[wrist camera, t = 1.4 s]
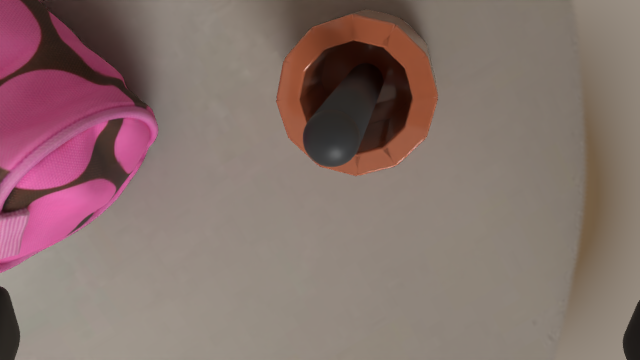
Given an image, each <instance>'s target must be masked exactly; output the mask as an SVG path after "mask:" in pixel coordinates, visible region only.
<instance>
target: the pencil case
mask: <svg viewBox="0 0 640 360" xmlns="http://www.w3.org/2000/svg"><path fill="white" fill-rule="evenodd" d="M157 135H158V124H157V122H156V119H155V116H154V113H153V111H152V109H151V108H150V107H149V106H148V105H146V104H145V103H144V102H142V101H141V100H140V99H139V98H138V97H137V96H135V95H134V94H133V93H132V92H131V91H130V90H128V89H127V87H126V86H125V82H124V79H123V77H122V75H121V74H120V73H119V72H118V71H117V70H116V69H115V68H114V67H112V66H111V65H110V64H109V63H107V62H106V61H105V60H104V59H102V58H101V57H100V56H98V55H97V54H96V53H94V52H93V51H91V50H90V49H88V48H87V47H86V46H85V45H84V44H83V43H82V42H81V41H80V40H79V39H78V38H77V37H76V35H75V34H74V33H73V32H72V31H71V30H70V29H69V28H68V27H67V26H66V25H65V24H64V23H62V22H61V21H60V20H59V19H58V18H57V17H55V16H54V15H53V14H52V13H50V12H49V11H48V10H47V9H46V8H45V7H44V6H43V4H42V3H41V2H40V1H39V0H0V273H2V272H4V271H6V270H8V269H11V268H12V267H14V266H16V265H18V264H20V263H21V262H23V261H25V260H26V259H28V258H29V257H31V256H33V255H35V254H36V253H38V252H40V251H42V250H43V249H45V248H47V247H49V246H52V245H53V244H55V243H57V242H59V241H62V240H63V239H65V238H67V237H68V236H70V235H72V234H73V233H75V232H77V231H78V230H80V229H82V228H83V227H85V226H86V225H88V224H89V223H90V222H92V221H93V220H94V219H96V218H97V217H98V216H99V215H101V214H102V213H103V212H104V211H105V210H106V209H107V208H108V207H109V206H110V205H111V204H113V202H114V201H115V200H116V199H117V198H118V197H119V196H120V194H121V193H122V192H123V190H124V189H125V187H126V186H127V185H128V183H129V182H130V180H131V179H132V178H133V176H134V175H135V174H136V172H137V171H138V169H139V167H140V166H141V164H142V162H143V160H144V159H145V156H146V153H147V151H148V149H149V147H150V146H151V145H152V144H153V142H154V141H155V140H156V137H157Z"/></svg>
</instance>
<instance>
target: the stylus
mask: <svg viewBox="0 0 640 360" xmlns="http://www.w3.org/2000/svg"><path fill="white" fill-rule="evenodd" d="M382 86H383V76H382V73H381V71H380V70H379V69H378V68H377V67H376V66H375V65H373V64H369V63H362V64H359V65H357V66H355V67H354V68H353V69H352V70H351V71H350V72H349V74H348V75H347V76H346V77H345V78H344V79H343V81H342V82H341V83H340V84H339V85H338V86H337V88H336V89H335V90H334V91H333V92H332V94H331V95H330V96H329V97H328V98H327V99H326V101H325V102H324V103H323V104H322V105H321V106H320V108H319V109H318V110H317V111H316V112H315V114H314V115H313V116H312V117H311V118H310V119H309V121H308V122H307V124H306V126H305V128H304V132H303V145H304V148H305V150H306V152H307V154H308V156H309V157H310V158H311V159H312V160H313V161H315V162H316V163H318V164H320V165H322V166H326V167H337V166H341V165H343V164H345V163H347V162H349V161H350V160H351V159H352V158H353V157H354V156H355V154H356V153H357V151H358V149H359V146H360V144H361V141H362V139H363V136H364V133H365V131H366V128H367V126H368V123H369V120H370V118H371V115H372V113H373V110H374V107H375V105H376V102H377V100H378V97H379V94H380V92H381V89H382Z"/></svg>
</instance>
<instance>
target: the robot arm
mask: <svg viewBox="0 0 640 360" xmlns="http://www.w3.org/2000/svg"><path fill="white" fill-rule="evenodd" d="M19 342H20V331H19V326H18V323H17V319H16V316H15V313H14V309H13V306H12V302H11V299H10V295H9V293H8V291H7V290H6V289H5V288H3V287H0V360H14V359H15V356H16V353H17V350H18V347H19ZM623 348H624V353H625V356H626V359H627V360H640V300H639V302H638V304H637V306H636V308H635V311H634V313H633V315H632V317H631V320H630V322H629V324H628V327H627V329H626V331H625V334H624V338H623Z"/></svg>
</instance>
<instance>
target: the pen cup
mask: <svg viewBox="0 0 640 360" xmlns="http://www.w3.org/2000/svg"><path fill="white" fill-rule="evenodd" d="M362 63H369V64H373V65H375V66H376V67H377V68H378V69H379V70H380V71H381V73H382V76H383V86H382V89H381V92H380V94H379V97H378V100H377V102H376V105H375V107H374V110H373V113H372V115H371V118H370V120H369V123H368V126H367V128H366V131H365V133H364V136H363V139H362V141H361V144H360V146H359V149H358V151H357V153H356V154H355V156H354V157H353V158H352V159H351V160H350V161H349V162H347V163H345V164H343V165H341V166H337V167H326V166H322V165H320V164H318V163H316V162H315V161H314V162H315V163H316V164H317V165H319V166H320V167H324V168H327V169H331V170H335V171H339V172H343V173H347V174H350V175H354V176H357V175H363V174H367V173H371V172H375V171H379V170H383V169H387V168H391V167H395V166H396V165H398V164H399V163H401V162H402V161H403V160H404V159H405V158H406V157H407V156H408V155H409V154H410V153H411V152H412V151H413V150H414V149H415V148H416V147H417V146H418V145H419V144H421V143H422V142H423V141H424V140H425V138H426V137H427V135H428V131H429V128H430V125H431V121H432V118H433V114H434V111H435V108H436V104H437V101H438V92H437V86H436V80H435V75H434V71H433V67H432V63H431V59H430V55H429V51H428V48H427V44H426V43H425V41H424V40H423V39H422V38H421V37H420V36H419V35H418V34H417V32H416V31H415V30H414V29H413V28H412V27H411V26H409V25H408V24H407V23H406V22H405V21H404V20H403V19H401V18H399V17H397V16H393V15H390V14H387V13H383V12H377V11H372V10H365V9H364V10H361V11H358V12H355V13H352V14H349V15H346V16H342V17H339V18H336V19H333V20H330V21H328V22H325V23H322V24H319V25H316V26H313V27H312V28H311V29H309V30H308V32H307V33H306V34H305V35H304V36H303V37H302V39H301V40H300V41H299V42H298V43H297V44H296V45H295V47H294V48H293V49H292V50H291V51H290V52H289V54H288V55H287V56H286V57H285V60H284V61H283V65H282V71H281V76H280V81H279V87H278V92H277V100H276V102H277V105H278V108H279V111H280V114H281V117H282V120H283V123H284V126H285V129H286V132H287V135H288V138H290V140H291V141H292V142H293V143H294V144H295V145H297V146H298V147H299V148H300V149H301V150H302V151H303V152H304V153H305V154H306V155H307V156H308V154H307V152H306V150H305V148H304V145H303V132H304V128H305V126H306V124H307V122H308V121H309V119H310V118H311V117H312V116H313V115H314V114H315V112H316V111H317V110H318V109H319V108H320V106H321V105H322V104H323V103H324V102H325V101H326V99H327V98H328V97H329V96H330V95H331V94H332V92H333V91H334V90H335V89H336V88H337V86H338V85H339V84H340V83H341V82H342V81H343V79H344V78H345V77H346V76H347V75H348V74H349V72H350V71H351V70H352V69H353V68H354V67H355V66H357V65H359V64H362ZM308 157H309V156H308ZM309 158H310V157H309Z"/></svg>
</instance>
